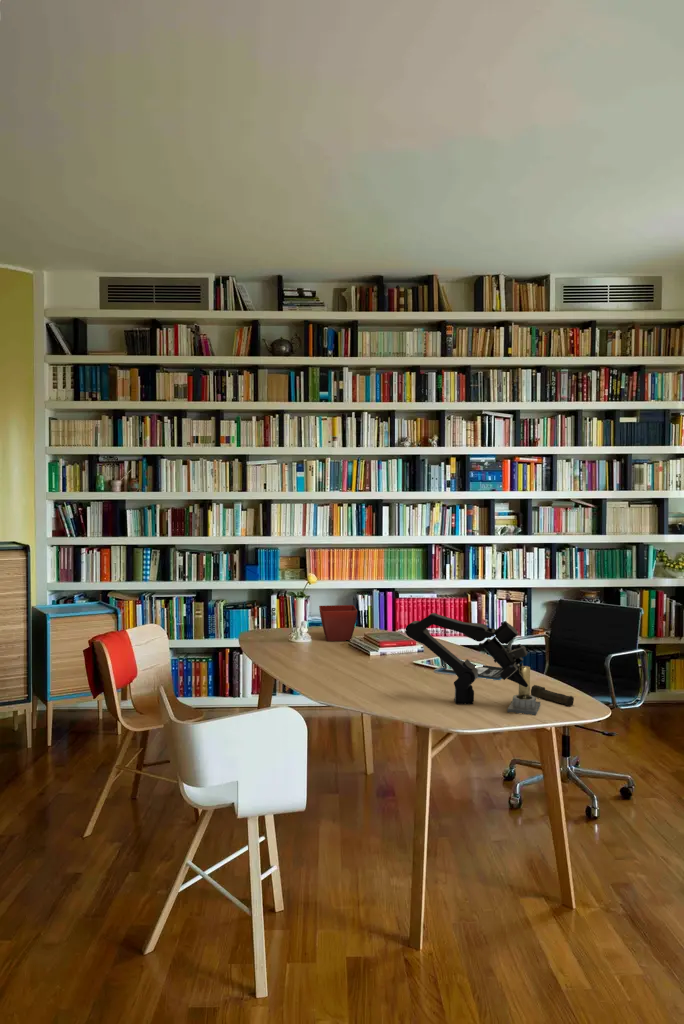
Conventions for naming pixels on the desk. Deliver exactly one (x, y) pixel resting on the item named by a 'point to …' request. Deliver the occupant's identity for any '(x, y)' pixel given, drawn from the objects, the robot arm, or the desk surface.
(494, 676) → the sketchbook
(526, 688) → the brass hinge pin
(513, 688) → the desk surface
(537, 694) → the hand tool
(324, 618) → the plant pot
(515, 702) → the plate with ring collar
